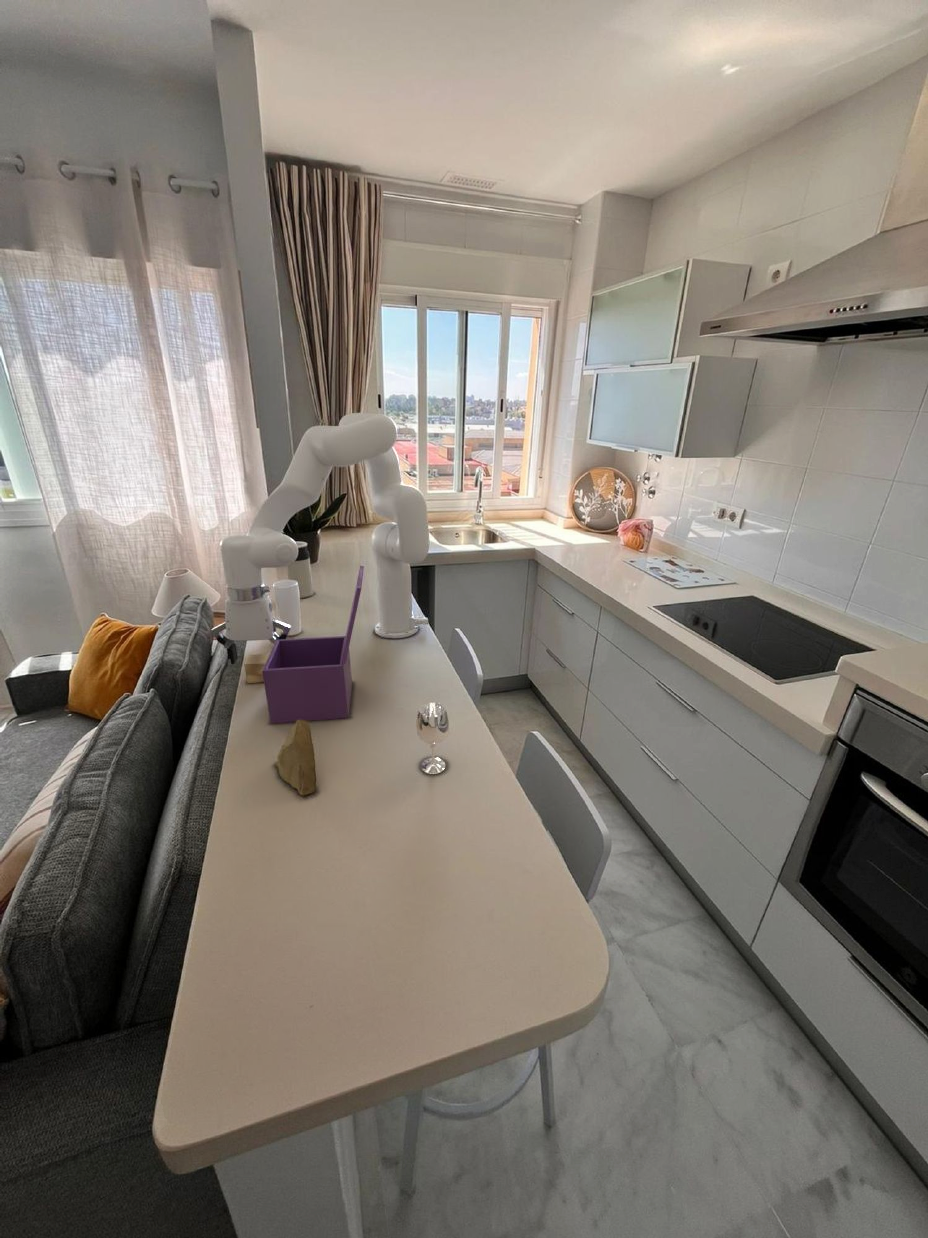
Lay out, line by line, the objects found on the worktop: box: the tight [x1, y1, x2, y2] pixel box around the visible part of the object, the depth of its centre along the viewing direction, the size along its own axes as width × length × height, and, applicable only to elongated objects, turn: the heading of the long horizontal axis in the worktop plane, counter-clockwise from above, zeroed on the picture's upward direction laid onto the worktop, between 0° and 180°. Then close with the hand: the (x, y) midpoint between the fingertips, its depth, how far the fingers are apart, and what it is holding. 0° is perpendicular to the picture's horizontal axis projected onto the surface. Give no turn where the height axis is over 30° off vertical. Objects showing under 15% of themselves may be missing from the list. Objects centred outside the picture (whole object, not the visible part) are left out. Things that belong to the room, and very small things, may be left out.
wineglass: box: [415, 702, 450, 775], centre depth 87 cm, size 6×6×12 cm
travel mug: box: [285, 541, 314, 599], centre depth 169 cm, size 8×8×18 cm
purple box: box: [262, 635, 353, 725], centre depth 107 cm, size 16×15×12 cm
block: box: [244, 653, 270, 684], centre depth 118 cm, size 5×5×5 cm
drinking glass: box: [272, 579, 302, 637], centre depth 140 cm, size 7×7×15 cm
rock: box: [275, 719, 317, 797], centre depth 85 cm, size 11×9×10 cm
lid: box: [341, 565, 365, 664], centre depth 103 cm, size 16×15×1 cm
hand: (256, 660), depth 117 cm, fingers open, 9 cm apart
